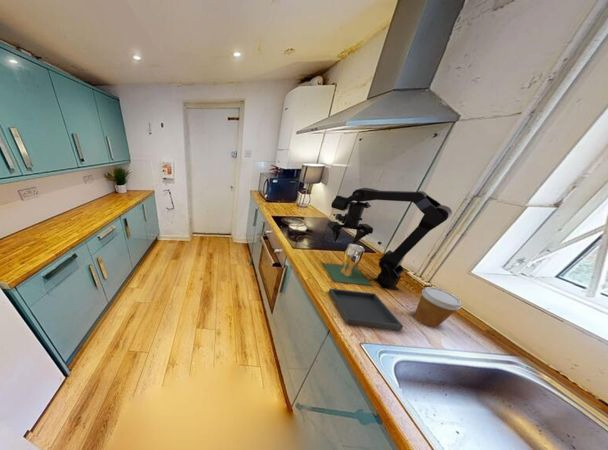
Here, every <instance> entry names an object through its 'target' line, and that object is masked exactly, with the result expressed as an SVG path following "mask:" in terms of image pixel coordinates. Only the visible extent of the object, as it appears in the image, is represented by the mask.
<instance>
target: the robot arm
mask: <svg viewBox="0 0 608 450" xmlns="http://www.w3.org/2000/svg"><path fill="white" fill-rule="evenodd" d="M370 201H390V202H391V201H392V202H409V203H413V204H414V205H415V206H416V208H417V209H418V210H419V211H420V212H421V213H422V214H423V216H422V218H421V219H420V220H419V223H418V225H417V226H416V227H415V229H413V230H412V231H411V232H410V234H409V235H407V237H406V238H405V239H404V240H403V241H402V242H401V243H400V244H399V245H398V246H397V248H395V250H393V251H392V250H391V249H389V250H387V251H386V252H384V253H383V255H382V257H380V258H379V259H378V267H379V268H380V271H379V272H380V273H378V275H377V277H374V278H373V280H374V281H375V282H376V283H377V284H378V285H379V286H380V287H381V289H384V290H392V291H393V290H395V291H399V288H398V287H397V286H398V284H399V282H400V280H401V278H402V276H401V275H402V274H403V273H404V272H405V269H404V267H403V266H402V265H401V264H402V263H403V261H404V259H405V257H406V255H408V253H409V252H410V251H411V250H413V248H414V247H415V246H417V245H418V243H419V242H420V241H421V240H423V238H425V236H426V235H428V233H429V232H431V231H432V230H433V229H434V230H435V228H437V227H438V226H440V225H441V224H443V223H444V222H446V221H447V220H449V219H450V218H451V216H452V215H453V211H452V209H451V208H450V207H449V206H447V205H444V204H442V203H440V202H439V201H438V200H436V199H434V198H433V197H431V196H430V195H428V194H427V193H426V192H425V191H423V190H418V191H410V190H409V191H403V190H378V189H375V188H370V187H361V188H358V189H357V188H356V189H355V190H354V191H352V193H351V195H350V196H347V197H345V196H342V195H339V194H338V195H335V198H334V199H333V200H332V202H331V206H330V207H331V208H332V209H335V210H338V211H342V212H345V211H347V212H346V213H345V214H344V215H342V213H336V214H335V220H336V221H333V220H332V221H331V220H330V221H328V222H327V227H328V228H329V229H330V230H331V231H332V234H333V241H334V242H335V243H336V242H337V241H338V238H339V237H340V234H341V230H342V229H345V230H355V231H356V233H355V234H354V235H355V236H354V238H353V241H352V244H356V243H357V242H359V241H360V240H361V239H363V238H364V237H366V236H369V235H370V234H371V235H372V234H373V232H374V228H373V226H371V225H369V224H368V223H360V221H361V222H362V220H363V218H362V216H363V213H364V210H365V209H369V208H371V207H372V205H371V204H370V203H369V202H370Z"/></svg>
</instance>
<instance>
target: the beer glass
mask: <svg viewBox="0 0 608 450" xmlns="http://www.w3.org/2000/svg"><path fill="white" fill-rule="evenodd" d="M365 251H366V250H365V247H363V246H362V245H360V244H356V243H348V244H347V246H346V248H345V250H344V252H343V255H342V264H341V265H342V266H341V268H340V269H339V273H340V274H341V275H343V276H345V277H353V275H354V270H355V268H358V266H359V264H360V263H361V261H362V260H363V257H364V254H365Z"/></svg>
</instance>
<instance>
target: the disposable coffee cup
mask: <svg viewBox="0 0 608 450" xmlns="http://www.w3.org/2000/svg"><path fill="white" fill-rule="evenodd" d="M462 308H463V307H462V301H461V300H460V299H459V298H458V297H457V296H456V295H455V294H453V293H451V292H449V291H447V290H444V289H442V288H438V287H434V286H427V287H425V288H423V289H422V290H421V295H420V299H419V302H418V304H417V306H416V308H415V311H414V315H413V316H414V317H415V319H416V320H417V321H418V322H420V323H421V324H423V325H425V326H427V327H430V328H438V327H439V326H440V325H441V324H443V323H444V322H445V321H446V320H447V319H448V318H450V316H452V315H453V314H454V313H455V312H456V311H458V310H461V309H462Z"/></svg>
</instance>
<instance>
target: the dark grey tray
mask: <svg viewBox="0 0 608 450" xmlns="http://www.w3.org/2000/svg"><path fill="white" fill-rule="evenodd" d="M327 292H328V295H329V296H330V298H331V300H332V302H333V304H334V306H335V307H336V309H337V312H339V314H340V316H341V317H342V320H343V321H344V323H345V324H346V325H349V326H358V327H366V328H374V329H381V330H388V331H395V332H396V331H397V332H401V331H402V329H403V327H404V325H403V324H402V323H401V322H400V321H399V319H397V318H396V316H395V315H394V314H393V313H392V311H391V310H390V309H389V308H388V307H387V305H385V303H384V302H383V301H382V300H381V299H380V297H379V296H378V295H377V294H376V293H375V292H366V291H365V292H364V291H363V292H362V291H357V290H356V291H355V290H347V289H340V288H339V289H338V288H329V290H328V291H327Z"/></svg>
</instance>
